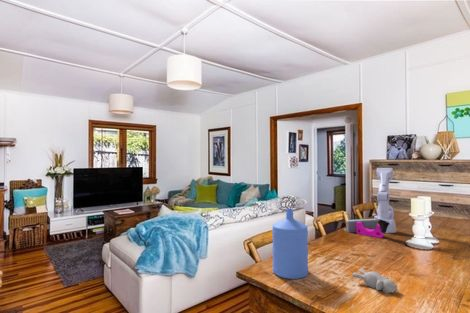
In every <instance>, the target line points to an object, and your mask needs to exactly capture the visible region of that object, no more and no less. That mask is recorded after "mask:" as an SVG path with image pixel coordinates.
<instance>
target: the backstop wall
mask: <svg viewBox="0 0 470 313" xmlns="http://www.w3.org/2000/svg"><path fill="white" fill-rule="evenodd" d="M378 221H379V220H378V219H374V218H364V219H363V218H361V219H346V220H345V223H346V224H345V226H346V228H343V231H344V232H347V233H357V222H362V225H363V227H364V228H368V229H371V230H374V229H376V226H377V225H378ZM360 231H361V230H360Z"/></svg>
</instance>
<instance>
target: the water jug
mask: <svg viewBox="0 0 470 313" xmlns="http://www.w3.org/2000/svg"><path fill="white" fill-rule="evenodd" d="M285 211H286V212H285V215H286V216H285V218H284V219H282V220H279V221H277V222H275V223H273V224H272V229H271V230H272V232H271V233H272V249H271V250H272V272H273V273H274V275H277V276H278V277H280V278H283V279H288V280H298V279H303V278H305V277H306V276H308V274H309V264H308V263H309V259H308V258H309V249H308V248H309V246H308V245H309V244H308V243H309V242H308V236H309V231H308V226H307V225H306V224H305V223H302V222H301V221H298V220H297V219H295V218H294V209H292V208H287V209H285Z"/></svg>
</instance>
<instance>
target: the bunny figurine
mask: <svg viewBox="0 0 470 313" xmlns="http://www.w3.org/2000/svg"><path fill="white" fill-rule="evenodd" d="M358 271H359V273H358V272H353V273H352V277H353V278H357V279H362V280H363V281H364V283H365V285H366V286H368V287H369V288H372V289H375V290H376V291H382V292H383V293H385V294H391V293H393V294H394V293H395V292H396V291H397V290H398V285H397V284H396V283H395V282H394V280H392V279H390V278H389V277H388V276H383V275H382V274H381V273H379V272H377V271H374V270H372V271H366V270H365V269H362V268H360V269H359V270H358Z"/></svg>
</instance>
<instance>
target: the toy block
mask: <svg viewBox="0 0 470 313" xmlns="http://www.w3.org/2000/svg"><path fill="white" fill-rule="evenodd" d="M360 230H361V231H360ZM356 235H362V236H367V237H372V238H378V239H382V238H383V237H385V233H382V232H381V228H380V226H379V224H377V226H376V229H374V230H371V229H368V228H364V227H363V225H362V222H357V232H356Z"/></svg>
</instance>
